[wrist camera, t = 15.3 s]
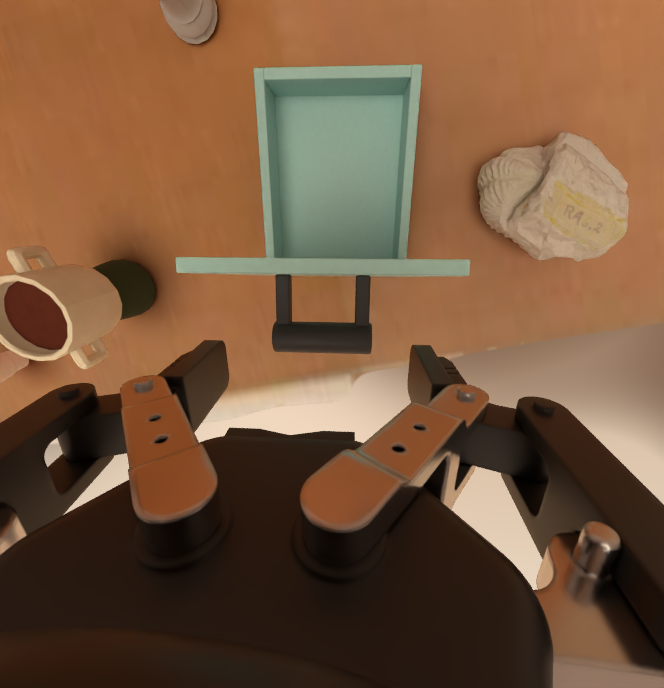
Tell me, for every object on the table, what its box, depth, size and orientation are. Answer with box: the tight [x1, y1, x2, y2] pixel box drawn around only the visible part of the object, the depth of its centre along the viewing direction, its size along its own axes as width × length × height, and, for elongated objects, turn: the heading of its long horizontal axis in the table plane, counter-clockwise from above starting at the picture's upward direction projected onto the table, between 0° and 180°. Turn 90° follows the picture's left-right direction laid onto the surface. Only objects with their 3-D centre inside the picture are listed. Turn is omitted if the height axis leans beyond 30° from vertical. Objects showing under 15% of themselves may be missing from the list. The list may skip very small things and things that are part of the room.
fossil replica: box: [477, 132, 629, 261], centre depth 28 cm, size 12×8×10 cm
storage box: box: [254, 64, 422, 259], centre depth 30 cm, size 16×13×5 cm
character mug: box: [0, 246, 155, 369], centre depth 31 cm, size 11×7×13 cm, turn 18°
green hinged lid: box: [176, 257, 470, 354], centre depth 23 cm, size 16×13×5 cm
